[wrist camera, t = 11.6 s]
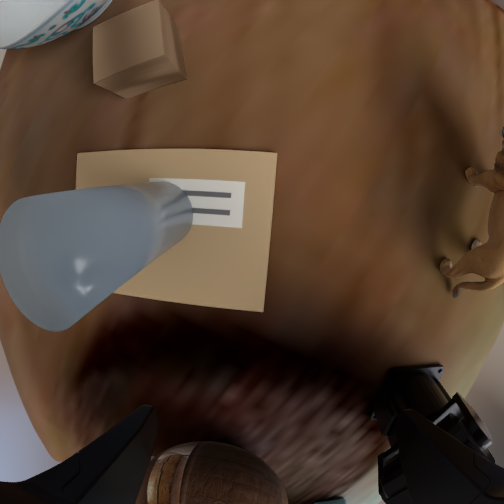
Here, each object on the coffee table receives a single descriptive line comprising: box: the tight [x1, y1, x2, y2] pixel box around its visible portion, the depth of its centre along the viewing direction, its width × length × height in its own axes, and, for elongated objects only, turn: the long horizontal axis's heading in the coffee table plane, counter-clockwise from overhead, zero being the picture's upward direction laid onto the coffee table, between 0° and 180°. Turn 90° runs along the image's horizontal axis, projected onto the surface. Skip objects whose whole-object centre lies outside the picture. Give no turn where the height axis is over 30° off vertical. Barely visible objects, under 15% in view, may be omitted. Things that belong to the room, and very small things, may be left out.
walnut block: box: [93, 0, 186, 99], centre depth 16 cm, size 5×5×5 cm
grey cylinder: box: [0, 181, 193, 331], centre depth 14 cm, size 5×5×13 cm
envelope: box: [76, 149, 277, 312], centre depth 21 cm, size 16×12×1 cm
